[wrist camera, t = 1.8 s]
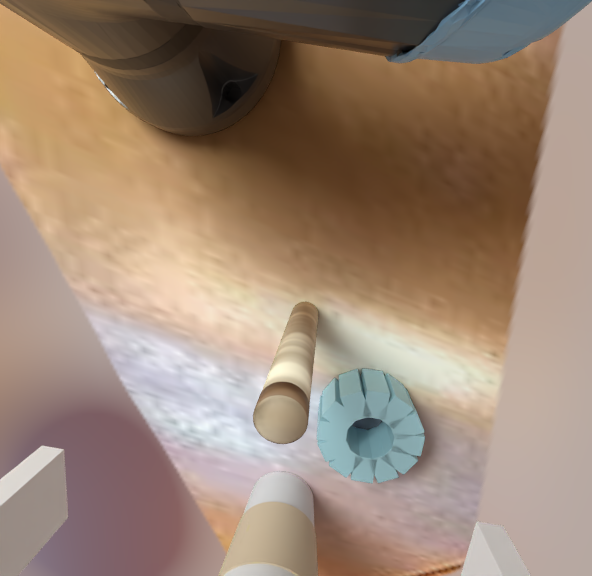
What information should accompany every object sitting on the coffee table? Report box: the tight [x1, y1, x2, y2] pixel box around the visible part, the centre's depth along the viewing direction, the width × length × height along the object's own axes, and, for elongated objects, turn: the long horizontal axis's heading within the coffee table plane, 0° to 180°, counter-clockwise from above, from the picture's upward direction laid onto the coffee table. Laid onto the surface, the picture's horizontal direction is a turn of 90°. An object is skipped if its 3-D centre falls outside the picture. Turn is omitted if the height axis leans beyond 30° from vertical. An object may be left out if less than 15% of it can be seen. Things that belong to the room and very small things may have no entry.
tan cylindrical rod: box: [253, 302, 318, 444], centre depth 23 cm, size 2×2×16 cm
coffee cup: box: [218, 471, 318, 576], centre depth 28 cm, size 9×9×15 cm
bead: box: [317, 368, 425, 483], centre depth 30 cm, size 9×9×4 cm
